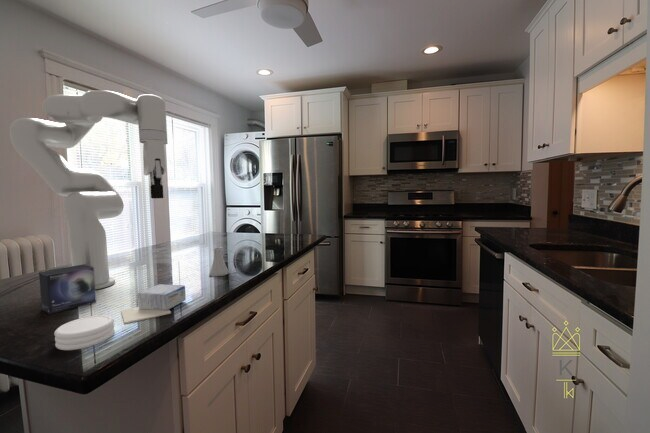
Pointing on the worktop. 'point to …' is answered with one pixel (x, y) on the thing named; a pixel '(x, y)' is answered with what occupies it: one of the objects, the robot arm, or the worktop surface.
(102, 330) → the coaster
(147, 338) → the worktop surface
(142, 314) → the mat
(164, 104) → the robot arm
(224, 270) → the flask
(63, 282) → the small box
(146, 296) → the medicine box
